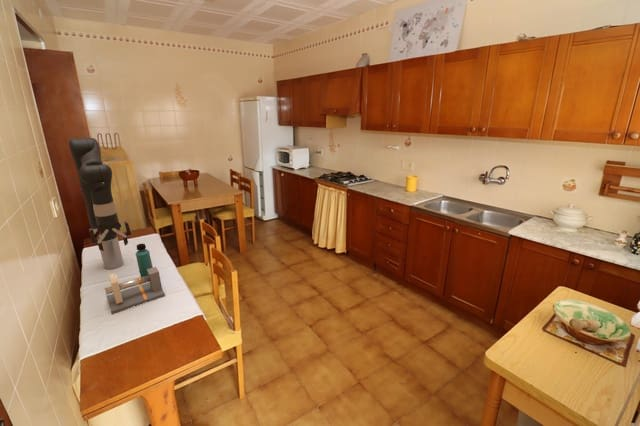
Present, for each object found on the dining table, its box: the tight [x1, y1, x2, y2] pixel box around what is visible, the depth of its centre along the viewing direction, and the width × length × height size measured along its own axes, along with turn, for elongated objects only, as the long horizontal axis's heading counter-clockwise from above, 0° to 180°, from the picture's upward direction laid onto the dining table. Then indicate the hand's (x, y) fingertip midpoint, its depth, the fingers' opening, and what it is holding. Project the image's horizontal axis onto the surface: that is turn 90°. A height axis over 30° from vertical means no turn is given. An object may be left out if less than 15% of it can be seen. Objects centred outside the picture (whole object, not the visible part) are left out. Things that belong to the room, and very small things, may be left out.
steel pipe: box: [104, 275, 150, 296], centre depth 143 cm, size 3×19×3 cm, turn 130°
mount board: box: [106, 266, 166, 315], centre depth 145 cm, size 15×22×12 cm
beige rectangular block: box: [108, 273, 123, 303], centre depth 140 cm, size 9×2×11 cm, turn 39°
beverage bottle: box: [135, 243, 154, 277], centre depth 159 cm, size 6×7×20 cm
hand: (114, 247), depth 132 cm, fingers open, 8 cm apart
